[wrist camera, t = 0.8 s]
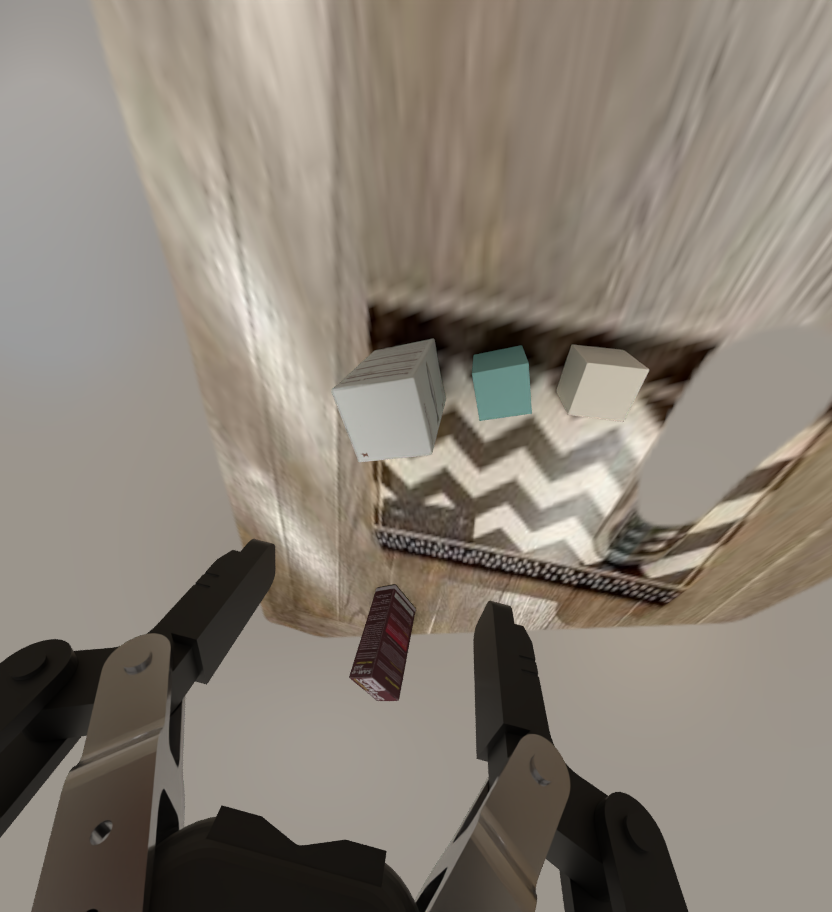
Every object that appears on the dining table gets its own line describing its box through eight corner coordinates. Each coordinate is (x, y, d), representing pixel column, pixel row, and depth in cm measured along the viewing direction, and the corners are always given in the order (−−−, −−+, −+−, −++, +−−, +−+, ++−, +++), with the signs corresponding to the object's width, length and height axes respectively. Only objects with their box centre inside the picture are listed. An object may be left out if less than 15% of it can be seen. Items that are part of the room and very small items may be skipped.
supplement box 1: (447, 399, 38) (434, 458, 27) (389, 407, 39) (356, 465, 29) (436, 335, 34) (415, 376, 23) (372, 347, 36) (327, 390, 25)
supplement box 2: (375, 587, 62) (346, 677, 49) (395, 583, 60) (371, 676, 47) (397, 611, 66) (376, 702, 53) (417, 609, 64) (400, 702, 51)
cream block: (571, 344, 32) (587, 362, 27) (623, 349, 31) (649, 369, 26) (556, 390, 35) (567, 414, 30) (603, 396, 34) (623, 422, 29)
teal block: (473, 354, 34) (471, 373, 29) (521, 345, 33) (528, 363, 28) (480, 397, 37) (479, 420, 32) (525, 389, 35) (531, 413, 30)
